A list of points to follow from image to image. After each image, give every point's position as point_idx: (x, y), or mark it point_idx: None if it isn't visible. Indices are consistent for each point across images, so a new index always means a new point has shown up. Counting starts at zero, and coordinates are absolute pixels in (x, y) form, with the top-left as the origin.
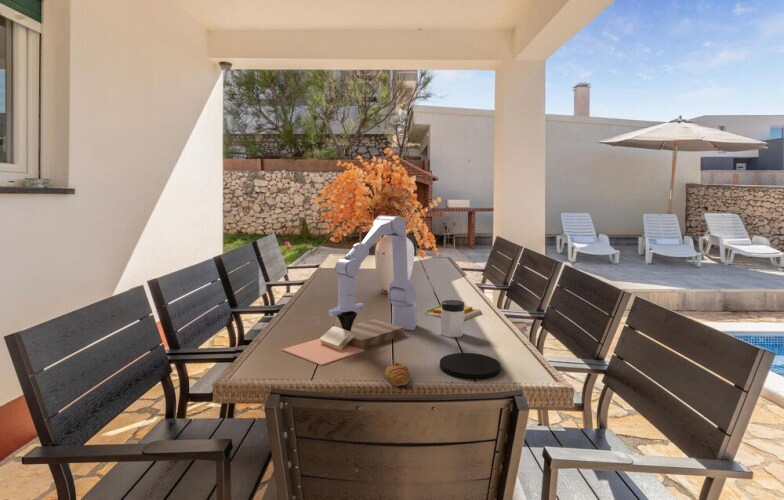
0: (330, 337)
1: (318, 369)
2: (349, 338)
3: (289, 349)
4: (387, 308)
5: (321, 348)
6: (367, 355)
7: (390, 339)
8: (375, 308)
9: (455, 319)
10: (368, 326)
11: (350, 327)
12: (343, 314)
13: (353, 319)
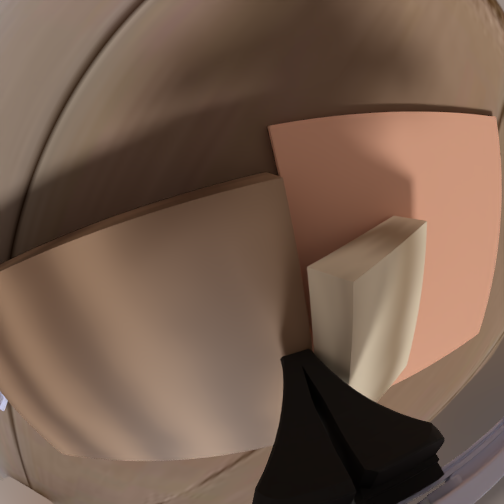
0: (401, 340)
1: (500, 99)
2: (358, 252)
3: (475, 323)
4: (31, 469)
5: (427, 290)
6: (292, 52)
7: (18, 255)
8: (58, 483)
9: None
10: (92, 416)
11: (300, 385)
12: (426, 469)
13: (293, 448)
